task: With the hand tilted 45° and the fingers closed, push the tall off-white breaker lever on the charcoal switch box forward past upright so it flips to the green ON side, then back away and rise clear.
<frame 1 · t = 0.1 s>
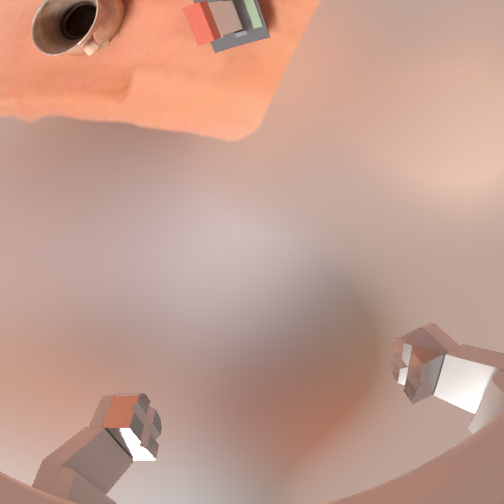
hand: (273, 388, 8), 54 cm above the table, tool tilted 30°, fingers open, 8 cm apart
breaker lever: (218, 18, 30), point 11 cm above the table, hinge at -30.0°
ceramic jug: (91, 18, 31), on the table
switch box: (229, 17, 37), on the table
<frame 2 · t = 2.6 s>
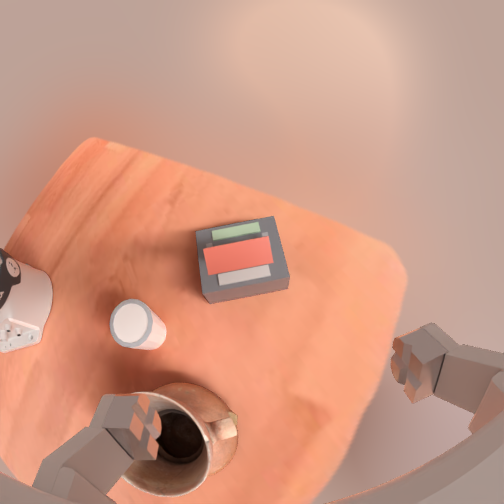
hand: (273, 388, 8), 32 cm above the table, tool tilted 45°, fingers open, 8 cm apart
breaker lever: (238, 252, 33), point 11 cm above the table, hinge at -30.0°
ceramic jug: (186, 429, 34), on the table
shot glass: (150, 332, 40), on the table
switch box: (243, 266, 44), on the table
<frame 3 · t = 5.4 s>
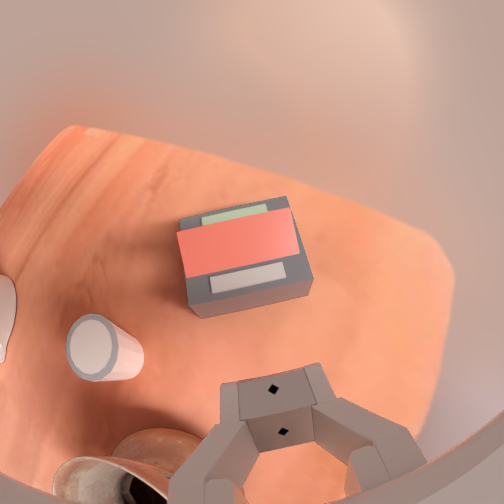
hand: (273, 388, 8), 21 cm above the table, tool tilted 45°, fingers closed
breaker lever: (239, 241, 22), point 11 cm above the table, hinge at -30.0°
ceramic jug: (176, 482, 22), on the table
shot glass: (124, 356, 29), on the table
switch box: (245, 266, 32), on the table
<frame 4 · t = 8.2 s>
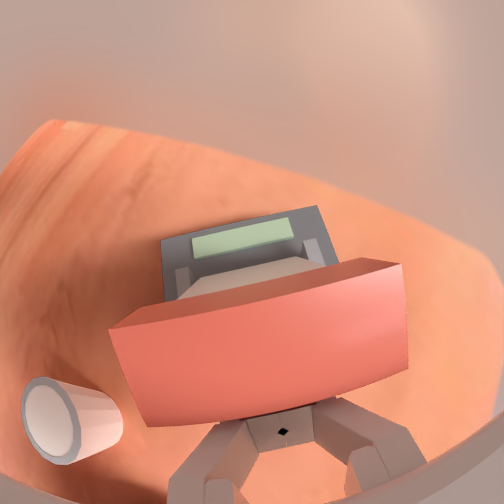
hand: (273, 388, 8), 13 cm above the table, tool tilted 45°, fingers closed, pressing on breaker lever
breaker lever: (255, 298, 12), point 11 cm above the table, hinge at -29.9°, touching gripper
shot glass: (99, 419, 19), on the table
switch box: (257, 306, 23), on the table
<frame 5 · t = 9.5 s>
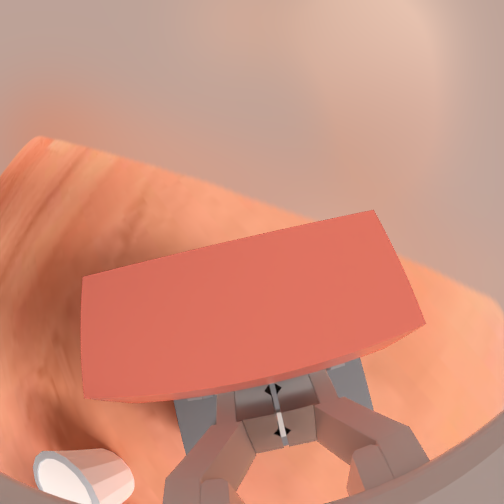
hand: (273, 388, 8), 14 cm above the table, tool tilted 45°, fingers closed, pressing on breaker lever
breaker lever: (258, 358, 10), point 12 cm above the table, hinge at 3.8°, touching gripper
shot glass: (109, 474, 16), on the table
switch box: (265, 374, 20), on the table
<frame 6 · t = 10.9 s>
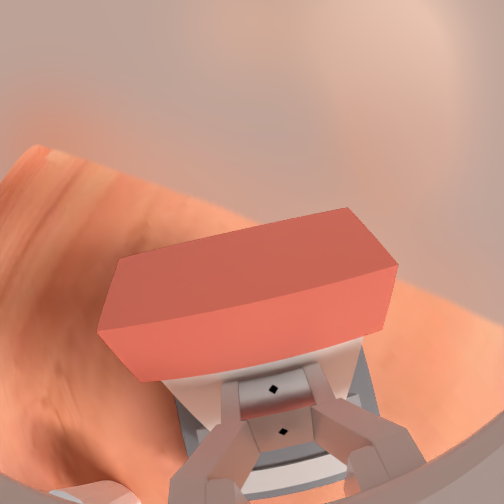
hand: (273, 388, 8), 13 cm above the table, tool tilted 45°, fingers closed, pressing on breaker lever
breaker lever: (270, 388, 10), point 11 cm above the table, hinge at 27.3°, touching gripper
switch box: (278, 415, 18), on the table
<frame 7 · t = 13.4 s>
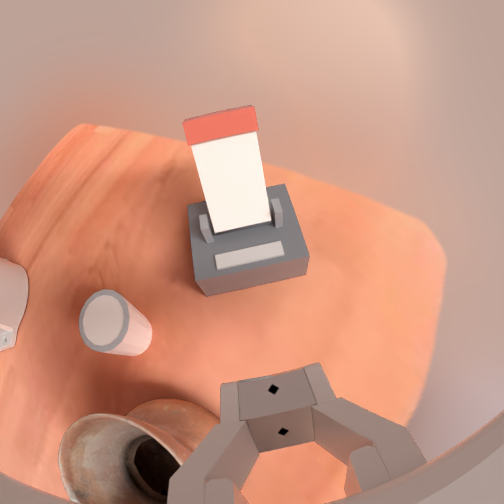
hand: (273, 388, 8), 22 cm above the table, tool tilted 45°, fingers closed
breaker lever: (231, 174, 27), point 11 cm above the table, hinge at 27.6°
ceramic jug: (179, 456, 24), on the table
shot glass: (133, 334, 32), on the table
switch box: (248, 249, 35), on the table
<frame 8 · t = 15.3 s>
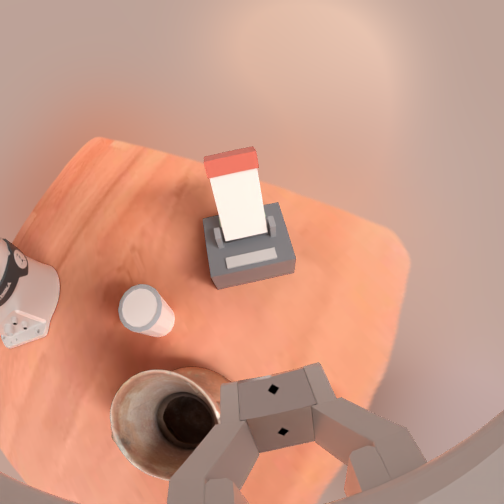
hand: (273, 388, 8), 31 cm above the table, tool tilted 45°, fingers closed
breaker lever: (238, 198, 37), point 11 cm above the table, hinge at 27.6°
ceramic jug: (196, 416, 34), on the table
shot glass: (158, 320, 41), on the table
switch box: (249, 252, 45), on the table
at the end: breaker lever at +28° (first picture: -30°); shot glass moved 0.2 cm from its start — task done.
